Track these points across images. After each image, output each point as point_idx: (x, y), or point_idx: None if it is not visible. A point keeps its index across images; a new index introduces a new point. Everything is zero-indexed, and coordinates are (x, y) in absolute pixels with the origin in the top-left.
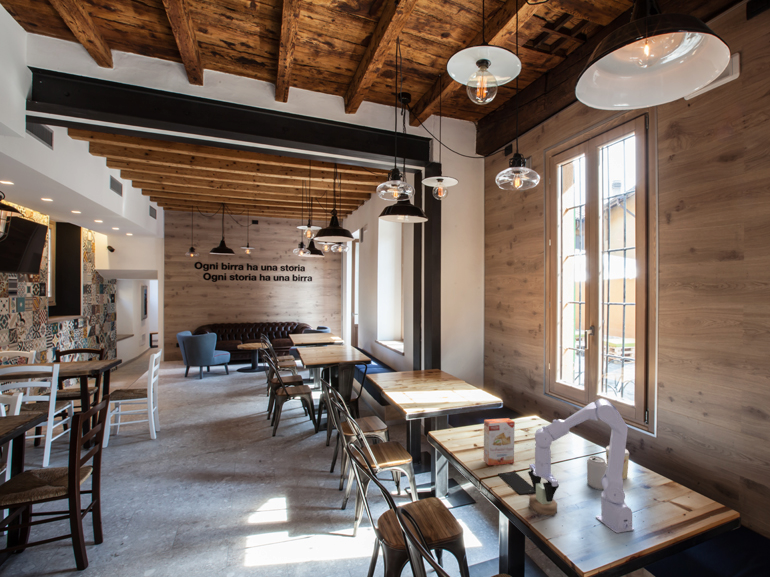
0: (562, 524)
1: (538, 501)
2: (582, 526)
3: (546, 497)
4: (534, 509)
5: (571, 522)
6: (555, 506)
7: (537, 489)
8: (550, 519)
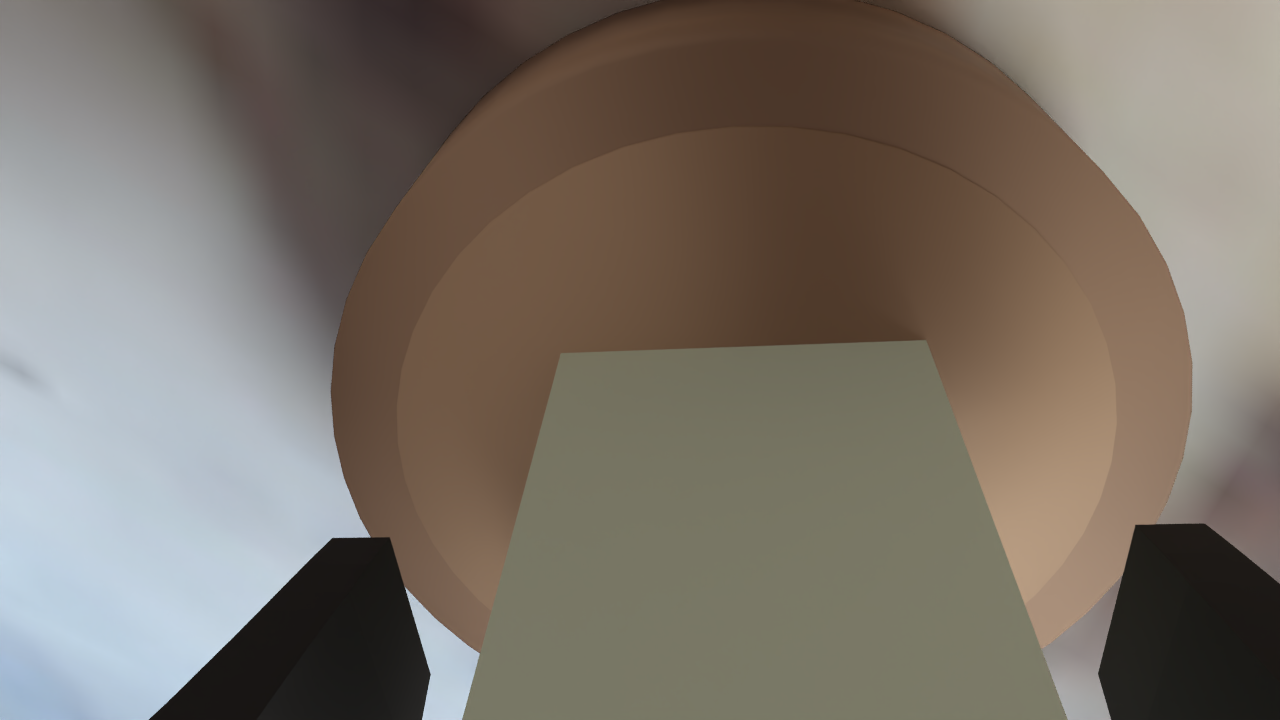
0: (47, 389)
1: (753, 334)
2: (55, 665)
3: (287, 630)
4: (603, 30)
5: (155, 580)
6: (444, 613)
7: (891, 650)
8: (218, 244)
